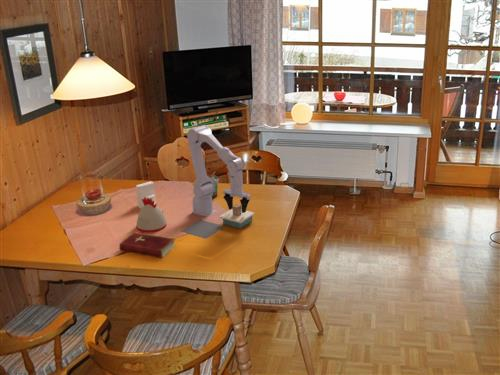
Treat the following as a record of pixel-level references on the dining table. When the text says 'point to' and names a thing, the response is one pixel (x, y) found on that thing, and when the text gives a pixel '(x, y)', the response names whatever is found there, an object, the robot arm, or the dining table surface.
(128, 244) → the hardcover book
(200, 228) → the mat
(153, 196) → the base with upright slab
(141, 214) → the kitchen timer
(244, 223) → the teal square tray
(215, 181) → the food container
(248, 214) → the lid
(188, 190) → the dining table surface
